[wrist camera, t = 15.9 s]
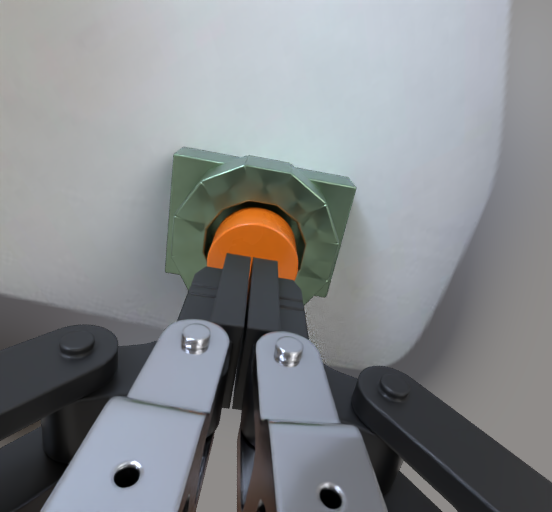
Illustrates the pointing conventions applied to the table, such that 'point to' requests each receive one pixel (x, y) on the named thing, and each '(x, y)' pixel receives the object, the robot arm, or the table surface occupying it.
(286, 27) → the table surface
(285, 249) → the button
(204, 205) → the button box
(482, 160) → the table surface
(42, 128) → the table surface
